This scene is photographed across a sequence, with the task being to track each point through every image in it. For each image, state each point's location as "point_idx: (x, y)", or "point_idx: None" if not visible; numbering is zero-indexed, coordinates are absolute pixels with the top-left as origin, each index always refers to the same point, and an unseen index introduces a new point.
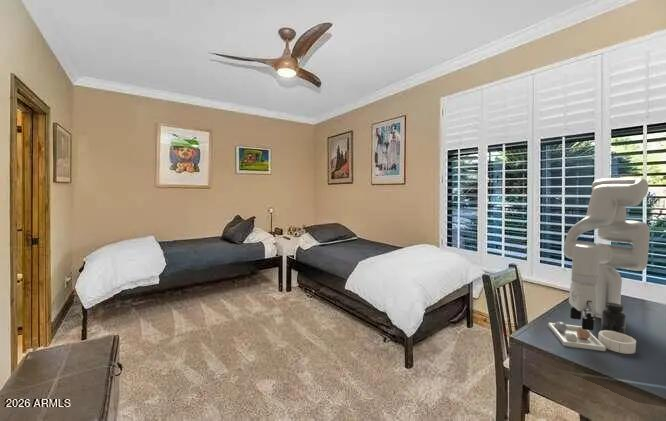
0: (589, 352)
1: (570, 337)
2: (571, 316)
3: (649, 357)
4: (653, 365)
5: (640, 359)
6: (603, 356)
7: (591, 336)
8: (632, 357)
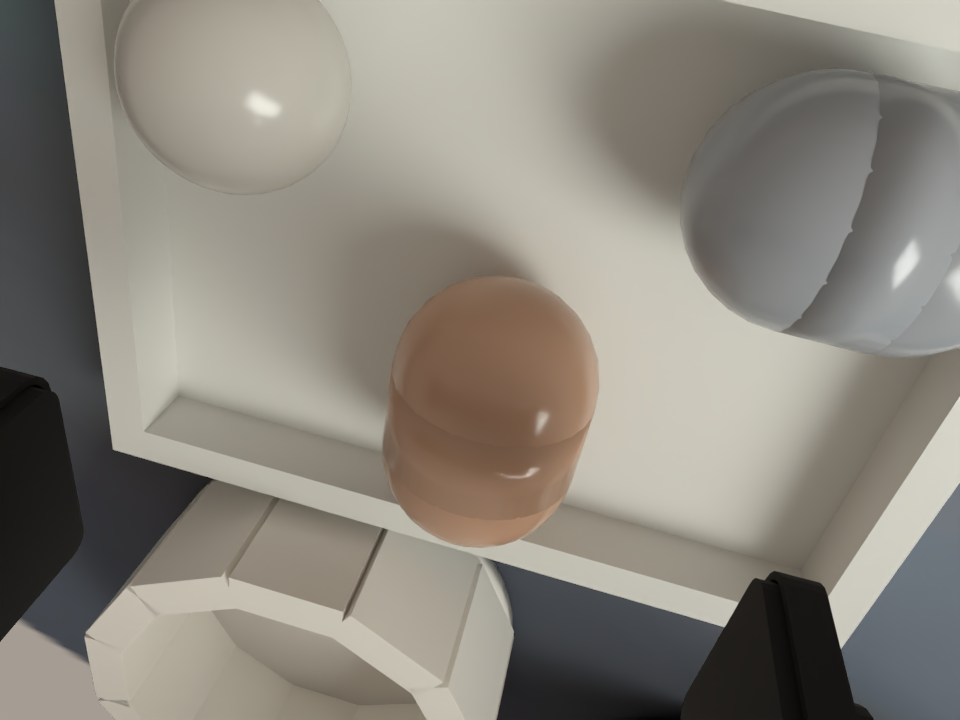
0: None
1: (123, 15)
2: (775, 620)
3: None
4: (58, 617)
5: None
6: (45, 306)
7: None
8: None
